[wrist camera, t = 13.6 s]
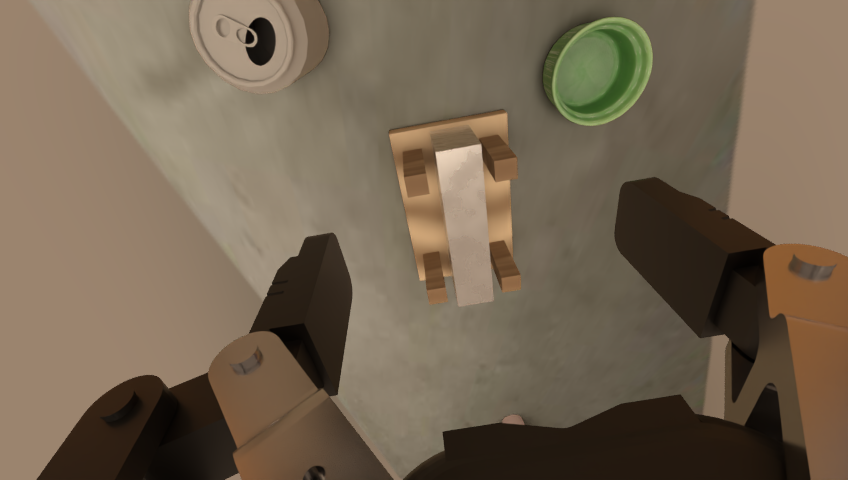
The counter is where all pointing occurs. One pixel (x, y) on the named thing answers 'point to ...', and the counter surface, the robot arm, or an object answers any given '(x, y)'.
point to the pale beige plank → (464, 212)
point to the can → (259, 40)
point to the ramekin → (598, 70)
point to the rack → (426, 208)
